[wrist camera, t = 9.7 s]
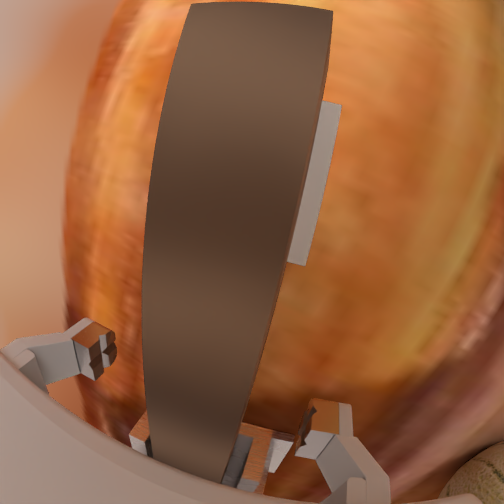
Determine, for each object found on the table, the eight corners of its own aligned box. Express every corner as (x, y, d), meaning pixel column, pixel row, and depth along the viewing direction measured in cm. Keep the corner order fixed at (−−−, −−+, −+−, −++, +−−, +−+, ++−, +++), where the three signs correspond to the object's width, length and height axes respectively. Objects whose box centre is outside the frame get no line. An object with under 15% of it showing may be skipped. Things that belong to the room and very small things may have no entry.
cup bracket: (150, 354, 19) (50, 470, 8) (311, 404, 17) (285, 565, 6) (154, 427, 22) (95, 516, 11) (275, 466, 20) (246, 573, 9)
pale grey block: (235, 105, 13) (206, 84, 9) (334, 123, 12) (341, 105, 8) (214, 217, 15) (180, 234, 11) (308, 240, 14) (305, 266, 10)
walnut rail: (234, 54, 9) (191, 3, 5) (328, 66, 8) (333, 10, 4) (181, 454, 16) (160, 493, 12) (226, 470, 16) (210, 511, 12)
